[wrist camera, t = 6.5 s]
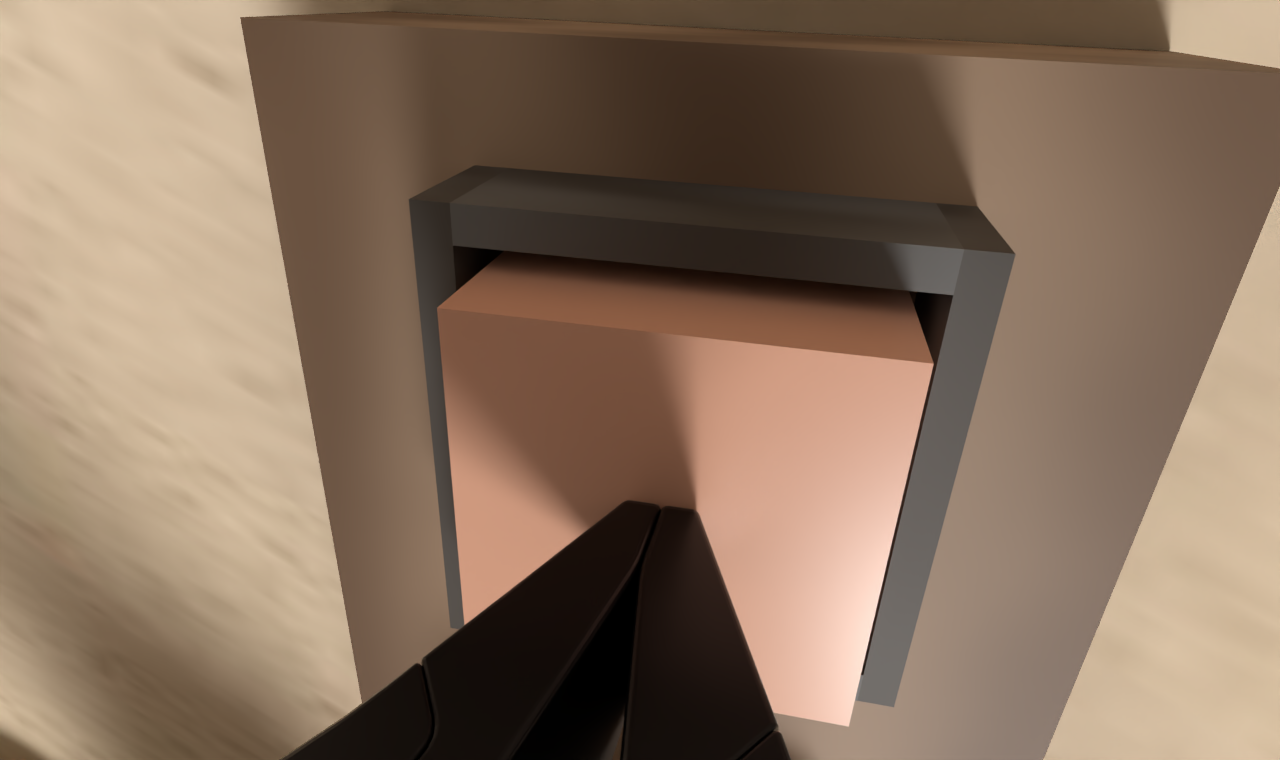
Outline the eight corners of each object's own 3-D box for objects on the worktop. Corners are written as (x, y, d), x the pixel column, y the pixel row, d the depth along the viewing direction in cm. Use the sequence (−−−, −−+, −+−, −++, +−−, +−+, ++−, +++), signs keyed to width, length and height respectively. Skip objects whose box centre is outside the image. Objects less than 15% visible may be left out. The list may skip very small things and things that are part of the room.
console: (463, 801, 24) (366, 1030, 19) (384, 11, 14) (124, 21, 9) (898, 894, 22) (927, 1180, 17) (1171, 51, 12) (1461, 98, 7)
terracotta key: (536, 521, 13) (467, 656, 10) (528, 230, 11) (437, 307, 8) (839, 568, 12) (848, 726, 10) (900, 265, 10) (933, 364, 7)
